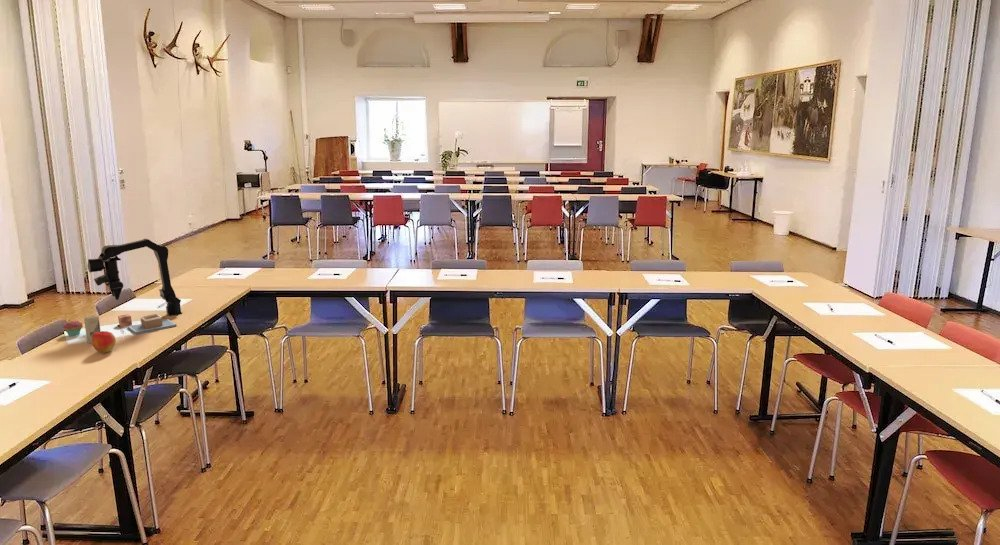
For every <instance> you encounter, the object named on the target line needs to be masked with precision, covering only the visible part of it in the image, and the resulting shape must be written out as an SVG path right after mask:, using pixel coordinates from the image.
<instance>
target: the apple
mask: <svg viewBox="0 0 1000 545" xmlns="http://www.w3.org/2000/svg"><path fill="white" fill-rule="evenodd" d="M115 345H116V336H115V334H113V333H112V332H110V331H105V330H104V331H101V332H97V333H94V334H93V337H92V346H93V349H95V351H97V352H98V353H103V354H105V353H108V352H111V351H112V350H113V349H114V348H115Z"/></svg>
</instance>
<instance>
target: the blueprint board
mask: <svg viewBox="0 0 1000 545" xmlns="http://www.w3.org/2000/svg"><path fill="white" fill-rule="evenodd" d="M177 326H178V325H177V323H175V322H173V321H172V320H171V319H169V318H165V319H163V318H162V315H159V314H158V313H154V314H148V315H142V316H140V323H139V324H134V325H133V324H132V325H128V326H127V329H128V330H129V331H131V332H132V333H133V334H134V335H138V334H145V333H149V332H155V331H160V330H165V329H169V328H175V327H177Z"/></svg>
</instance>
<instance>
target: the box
mask: <svg viewBox="0 0 1000 545" xmlns="http://www.w3.org/2000/svg"><path fill="white" fill-rule="evenodd" d="M83 320H84V329H85V337H86V342H87V343H88V344H92V337H93V334H94V333H97V332H102V331H101V324H100V316H97V315H89V316H84V317H83Z"/></svg>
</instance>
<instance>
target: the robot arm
mask: <svg viewBox="0 0 1000 545" xmlns="http://www.w3.org/2000/svg"><path fill="white" fill-rule="evenodd" d="M145 247H146V248H148V249H149V250H152V251H153V254H154V256H155V258H156V260H157V263H158V267H159V274H160V278H161V284H162V287H161V289H158V290H159V297H160V298H161V299H162V300H163V301H165V302H166V306H165V310H166V314H167V315H168V316H175V315H181V314H183V312H182V309H181V302H182V300H181V299H180V298H179V297H177V295H176V293H175V290H174V288H173V286H172V284H171V277H170V271H169V263H168V259H169V249H168V247H166V246H165V245H162V244H157V243H155V242H153V241H152V240H151V239H148V238H143V239H140V240H135V241H132V242H127V243H122V244H111V245H110V244H108V245H107V244H106V245H104V246H103V247H102V248H101V253H100V254H99V256H98V258H88V259H87V265H86V266H87V270H88V272H89V273H95V272H96V273H97V272H102V271H103V270H105V271H104V274H102V275H100V276H97V277H96V278H93V281H94V282H95V285H97V286H101V285H103V284H104V285H106V286H107V287H108V288H109V290H110V293H111V295H112V297H114V299H115V300H116V301H119V300H120V297H121V296H120V295H121V293H122V290H123V288H124V283H123V282H122V281H121V279H120V276H119V274H120V271H119V268H118V262H117V261H122V259H121V258H120V257H118V256H119V255H121V254H123V253H126V252H129V251H134V250H138V249H142V248H145Z"/></svg>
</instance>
